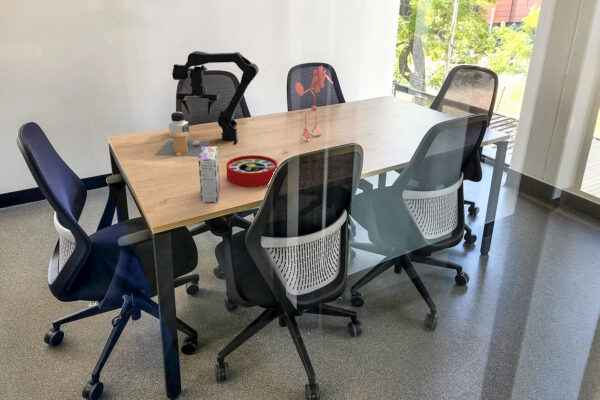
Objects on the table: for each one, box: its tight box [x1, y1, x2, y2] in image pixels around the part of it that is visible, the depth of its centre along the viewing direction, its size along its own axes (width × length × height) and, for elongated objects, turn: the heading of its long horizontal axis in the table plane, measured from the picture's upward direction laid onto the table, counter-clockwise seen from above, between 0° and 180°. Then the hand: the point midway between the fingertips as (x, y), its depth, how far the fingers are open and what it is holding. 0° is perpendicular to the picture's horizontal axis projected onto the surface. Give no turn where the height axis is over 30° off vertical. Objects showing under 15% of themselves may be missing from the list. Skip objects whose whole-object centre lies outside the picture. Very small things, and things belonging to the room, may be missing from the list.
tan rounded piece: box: [172, 132, 188, 157], centre depth 211 cm, size 11×6×8 cm, turn 2°
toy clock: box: [225, 154, 279, 188], centre depth 190 cm, size 20×6×20 cm
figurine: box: [294, 65, 334, 140], centre depth 229 cm, size 15×26×35 cm, turn 146°
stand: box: [154, 131, 212, 158], centre depth 215 cm, size 20×20×8 cm
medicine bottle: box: [168, 111, 190, 137], centre depth 233 cm, size 7×7×12 cm
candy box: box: [198, 145, 221, 204], centre depth 172 cm, size 14×6×16 cm, turn 5°
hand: (199, 114), depth 225 cm, fingers open, 9 cm apart
